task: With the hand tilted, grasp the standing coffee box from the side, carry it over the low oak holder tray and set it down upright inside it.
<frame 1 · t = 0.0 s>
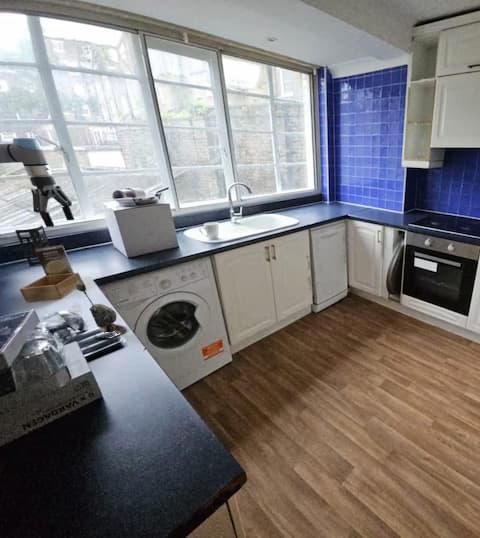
hand: (61, 223, 138), 25 cm above the table, tool pointing down, fingers open, 13 cm apart
oak holder: (56, 292, 126), on the table
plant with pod: (112, 334, 96), on the table
holder: (44, 263, 161), on the table
coffee box: (63, 280, 138), on the table
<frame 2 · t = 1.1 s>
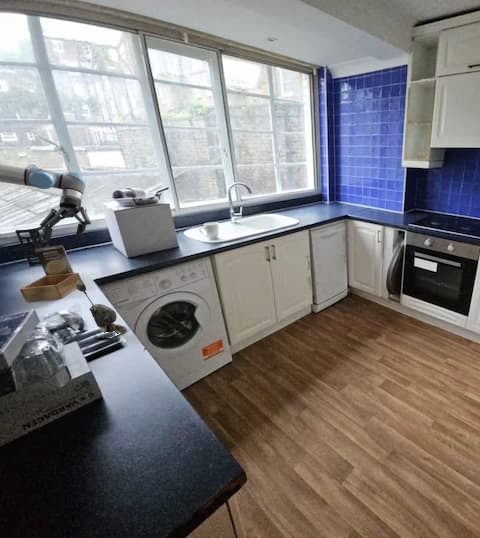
hand: (62, 238, 140), 18 cm above the table, tool tilted 45°, fingers open, 13 cm apart
nothing on the table moved.
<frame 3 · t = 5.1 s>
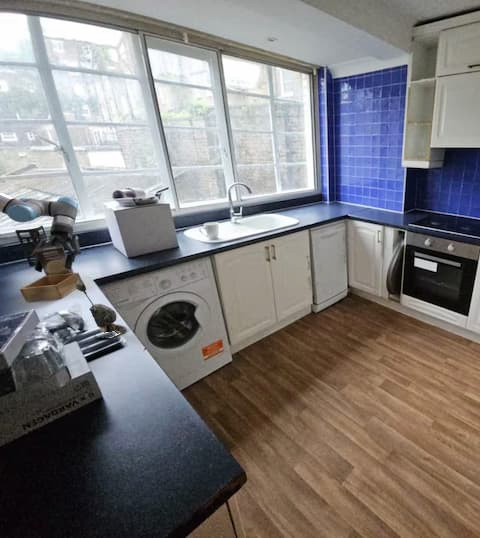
hand: (53, 269, 132), 7 cm above the table, tool tilted 45°, fingers closed on coffee box, 11 cm apart
coffee box: (63, 280, 138), on the table, touching gripper
everything else where it was.
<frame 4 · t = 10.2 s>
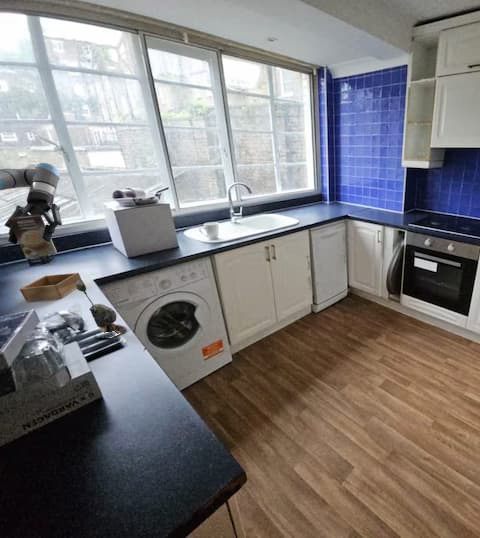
hand: (29, 241, 117), 23 cm above the table, tool tilted 45°, fingers closed on coffee box, 11 cm apart
coffee box: (42, 255, 123), point 16 cm above the table, touching gripper
everything else where it was.
when the fingers open (8 cm above the table, at t = 15.3 s): coffee box stays where it is, resting on oak holder.
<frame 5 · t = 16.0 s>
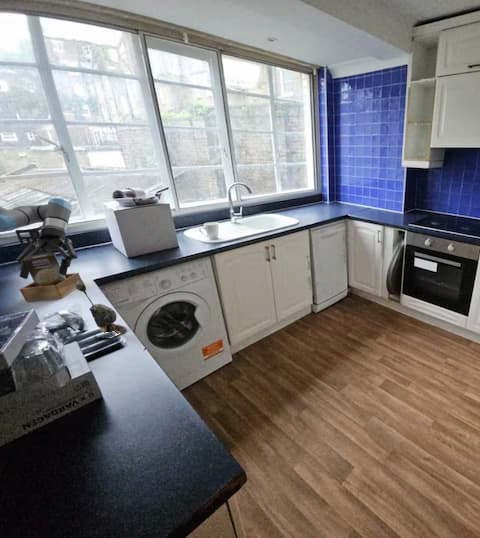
hand: (43, 275, 120), 9 cm above the table, tool tilted 45°, fingers open, 13 cm apart
coffee box: (55, 291, 125), point 1 cm above the table, touching oak holder
everything else where it was.
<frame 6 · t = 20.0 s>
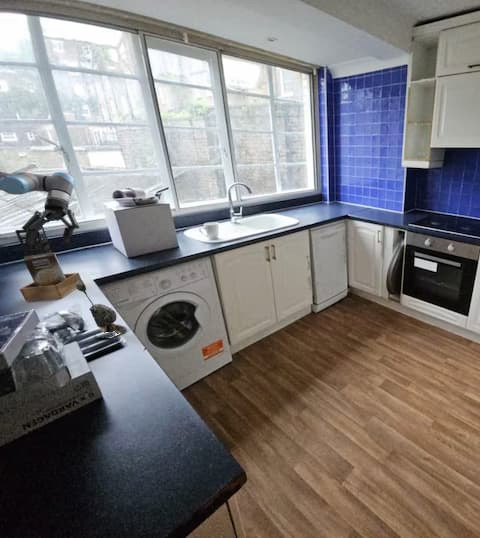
hand: (47, 243, 128), 19 cm above the table, tool tilted 45°, fingers open, 13 cm apart
nothing on the table moved.
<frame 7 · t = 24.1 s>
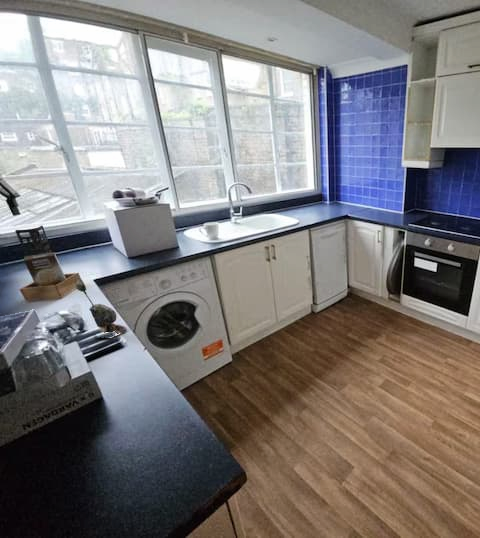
nothing on the table moved.
at the end: coffee box inside the target area in the oak holder (0.0 cm from its centre), point 0.6 cm above the oak holder's base; coffee box tilted 0°; the gripper is holding nothing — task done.
